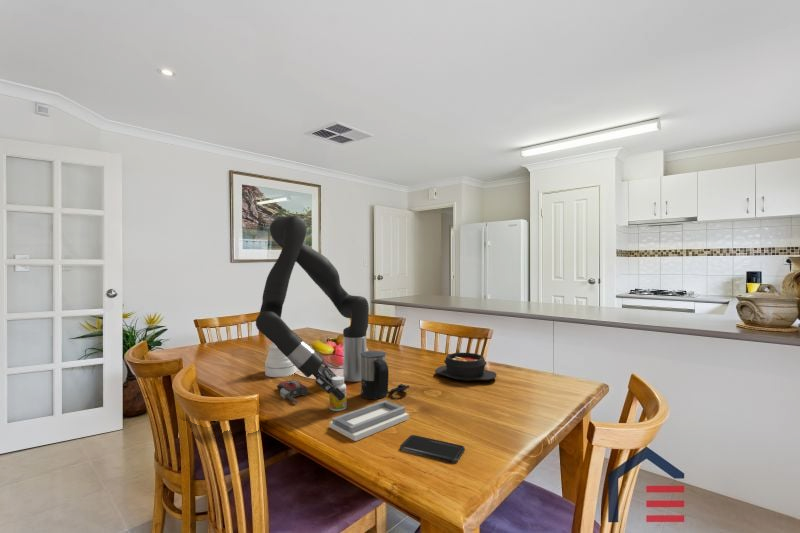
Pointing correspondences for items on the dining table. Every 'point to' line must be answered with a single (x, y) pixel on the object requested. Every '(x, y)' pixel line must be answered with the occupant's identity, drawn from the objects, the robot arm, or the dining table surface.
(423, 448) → the phone
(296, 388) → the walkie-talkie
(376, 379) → the milk frother
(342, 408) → the supplement bottle
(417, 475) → the dining table surface
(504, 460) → the dining table surface
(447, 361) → the casserole
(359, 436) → the board
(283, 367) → the honey pot
